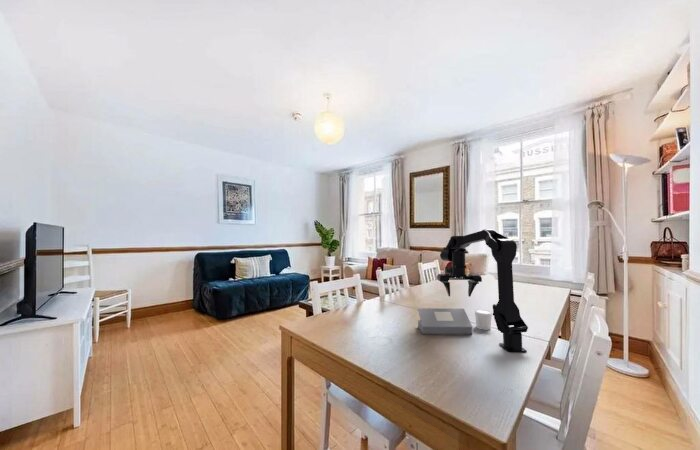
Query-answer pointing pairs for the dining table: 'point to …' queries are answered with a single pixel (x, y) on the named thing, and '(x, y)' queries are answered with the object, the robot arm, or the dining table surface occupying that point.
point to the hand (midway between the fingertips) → (459, 296)
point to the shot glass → (483, 319)
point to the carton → (444, 330)
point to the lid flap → (444, 318)
